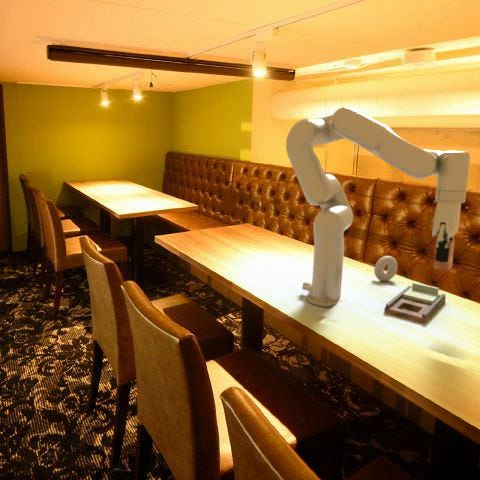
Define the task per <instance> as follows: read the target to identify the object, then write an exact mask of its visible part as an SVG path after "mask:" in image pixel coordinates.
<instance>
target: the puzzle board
mask: <svg viewBox="0 0 480 480" xmlns="http://www.w3.org/2000/svg"><path fill="white" fill-rule="evenodd" d="M410 288H412V286H411V285H408V286H407V287H405V288H404V289H403V290H402V291H401V292H400V293H398V294H397V295H396V296H394V297H393V298H392V299H390V300H389V301H388V302H387V303H386V304H385V307H384V312H383V313H385V314H388V315H392V316H395V317H400V318H402V319H408V320H409V321H414V322H417V323H422V324H426V323H427V322H428V320H429V319H431V317H432V316H433V315H434V314H435V313H436V312H437V311H438V310H439V309H440V307H441V306H442V305H443V304H444V303H445V302H446V299H447V297H446V294H445V293H441V294H440V296H439V297H438V298H437V299H436V300H435V301H434V302H433V303H432V304H429V303H425V302H421V301H417V300H413V299H409V298H405V297H403V294H404V293H405V292H406V291H408V290H409V289H410Z"/></svg>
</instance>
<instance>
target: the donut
mask: <svg viewBox="0 0 480 480" xmlns="http://www.w3.org/2000/svg"><path fill="white" fill-rule="evenodd" d="M387 266H388V267H387ZM386 267H387V270H386V271H384V270H385V268H386ZM397 272H398V261H397V260H396V259H395V257H393V256H392V255H391V256H390V255H385V256H381V257H380V258H379V259H378V260H377V261H376V263H375V264H374V270H373V273H374V275H375V277H376V279H377V280H379V281H380V282H381V281H382V282H387V281H390V280H391V279H393V278H394V277H395V276H396V273H397Z"/></svg>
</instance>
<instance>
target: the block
mask: <svg viewBox="0 0 480 480" xmlns="http://www.w3.org/2000/svg"><path fill="white" fill-rule="evenodd" d="M444 240H445V241H446V239H444ZM455 241H456V240H455V239H454V240H449V244H448V248H449V255H448V262H441V261H436V260H435V258H436V248H437V240H436V241H435V250H434V261H433V269H435V270H441V271H448V272H449V271H450V270H451V269H452V268H453V263H454V261H453V260H454V253H455V252H454V250H455Z"/></svg>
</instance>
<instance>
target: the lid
mask: <svg viewBox="0 0 480 480" xmlns="http://www.w3.org/2000/svg"><path fill="white" fill-rule="evenodd" d="M411 287H412V288H410V289H409V290H408V291H406V292H405V293H404V294H403V297H405V298H409V299H413V300H417V301H421V302H425V303H429V304H432V303H433V302H434V301H435V300H436V299H437V298H438V297H439V296H440V295H441V294H440V293H439V290H440V288H439V287H436V286H431V285H428V284H423V283H418V282H412V286H411Z"/></svg>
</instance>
